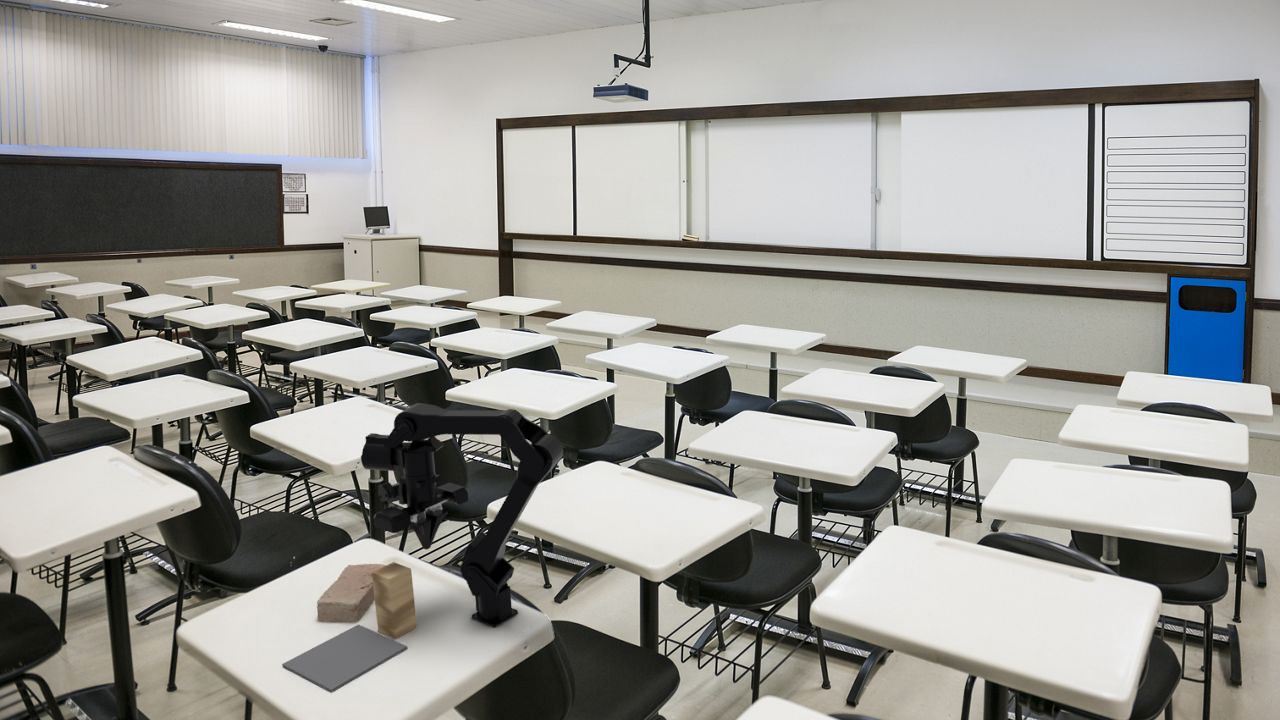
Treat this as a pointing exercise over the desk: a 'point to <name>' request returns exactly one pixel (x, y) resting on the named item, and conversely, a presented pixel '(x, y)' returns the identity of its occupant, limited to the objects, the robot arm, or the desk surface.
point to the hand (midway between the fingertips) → (426, 548)
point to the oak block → (394, 600)
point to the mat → (344, 657)
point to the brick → (348, 595)
